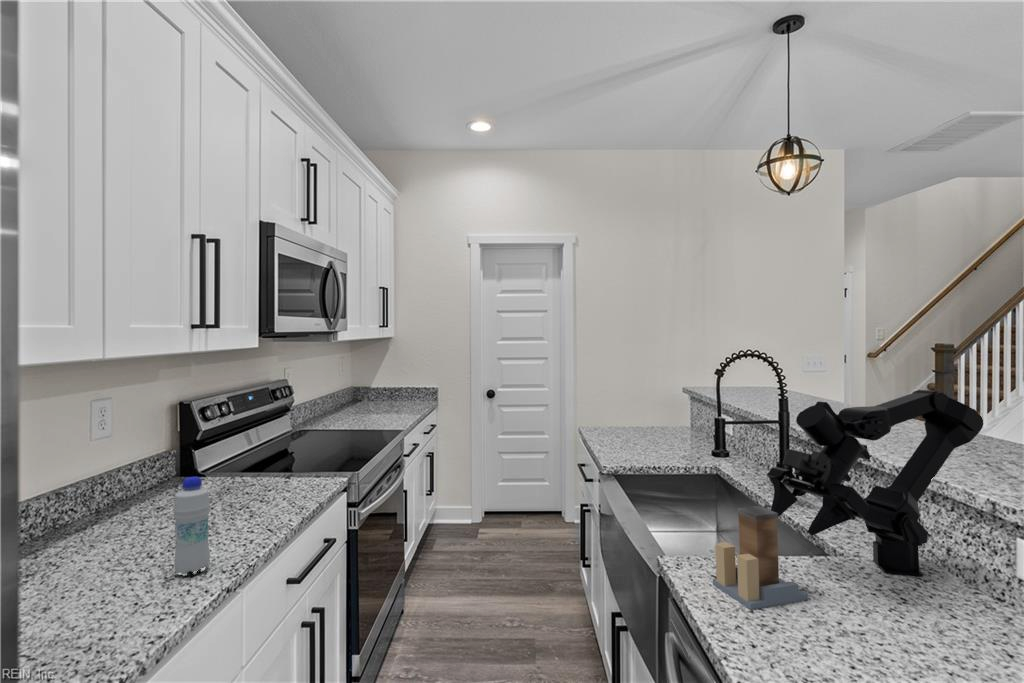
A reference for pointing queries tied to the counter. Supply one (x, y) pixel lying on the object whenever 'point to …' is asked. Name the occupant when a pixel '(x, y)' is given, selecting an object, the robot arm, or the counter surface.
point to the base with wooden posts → (750, 581)
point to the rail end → (760, 541)
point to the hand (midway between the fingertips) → (789, 525)
